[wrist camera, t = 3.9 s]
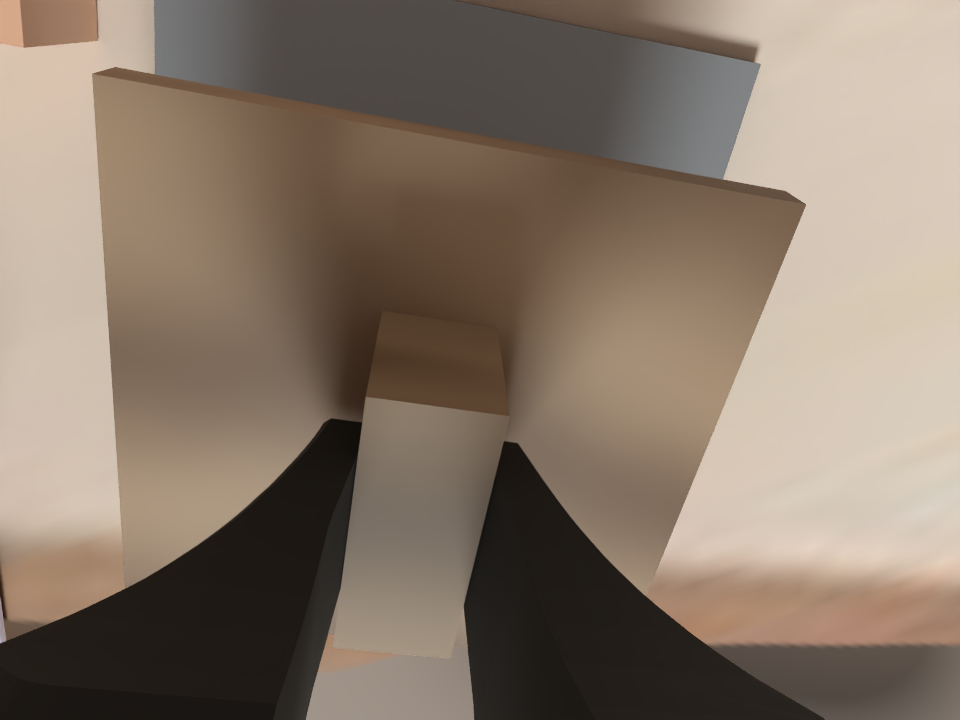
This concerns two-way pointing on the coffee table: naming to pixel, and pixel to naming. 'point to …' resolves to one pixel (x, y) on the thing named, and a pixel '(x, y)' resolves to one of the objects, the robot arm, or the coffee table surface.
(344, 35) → the mat
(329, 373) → the lid
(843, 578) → the coffee table surface
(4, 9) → the dish
